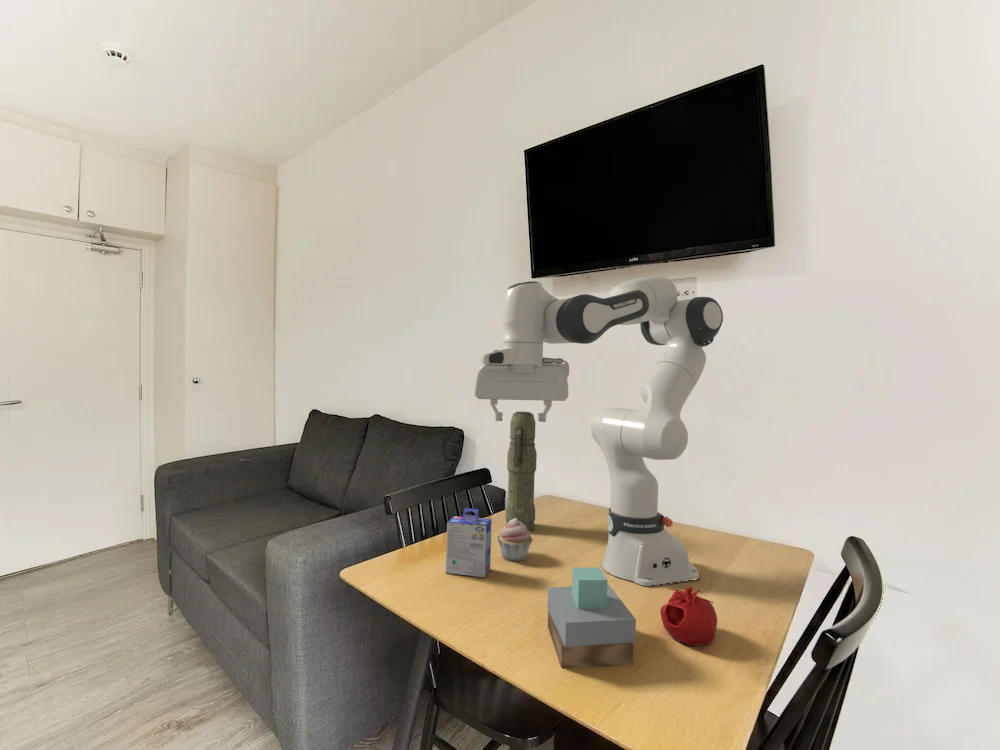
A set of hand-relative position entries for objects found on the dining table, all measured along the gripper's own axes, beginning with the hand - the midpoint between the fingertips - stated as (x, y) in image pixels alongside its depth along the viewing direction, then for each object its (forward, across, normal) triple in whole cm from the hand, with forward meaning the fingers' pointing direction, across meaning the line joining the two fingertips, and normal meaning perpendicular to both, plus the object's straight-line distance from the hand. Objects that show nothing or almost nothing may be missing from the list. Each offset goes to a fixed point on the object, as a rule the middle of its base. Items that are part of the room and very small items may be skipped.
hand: (520, 421), depth 100 cm
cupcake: (+37, -2, -18) cm, 42 cm away
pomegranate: (+37, -30, +18) cm, 51 cm away
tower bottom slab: (+38, -10, +20) cm, 44 cm away
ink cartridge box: (+37, +10, -10) cm, 40 cm away
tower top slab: (+34, -10, +20) cm, 40 cm away
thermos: (+37, -6, -40) cm, 55 cm away
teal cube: (+30, -10, +19) cm, 37 cm away
